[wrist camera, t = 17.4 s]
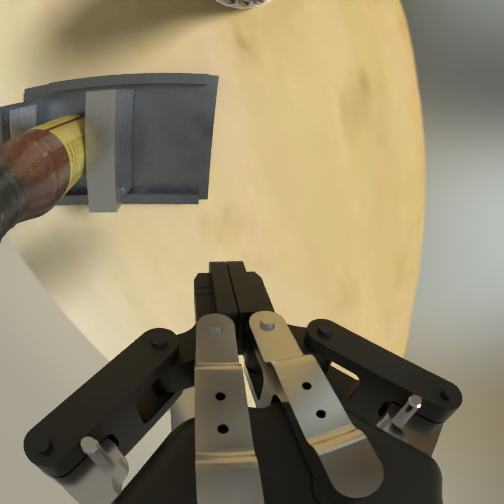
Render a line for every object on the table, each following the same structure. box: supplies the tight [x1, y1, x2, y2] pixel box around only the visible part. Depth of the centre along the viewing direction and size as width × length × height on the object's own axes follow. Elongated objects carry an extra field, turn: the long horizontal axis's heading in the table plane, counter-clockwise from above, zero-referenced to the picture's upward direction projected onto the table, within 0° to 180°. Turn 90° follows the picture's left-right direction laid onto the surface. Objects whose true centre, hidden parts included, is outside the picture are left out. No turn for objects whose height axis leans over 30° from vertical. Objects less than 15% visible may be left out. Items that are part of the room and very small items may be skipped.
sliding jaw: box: [85, 89, 134, 212], centre depth 23 cm, size 10×3×7 cm, turn 173°
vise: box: [0, 73, 219, 205], centre depth 23 cm, size 13×21×9 cm, turn 83°
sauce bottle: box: [0, 114, 86, 242], centre depth 17 cm, size 6×6×20 cm
